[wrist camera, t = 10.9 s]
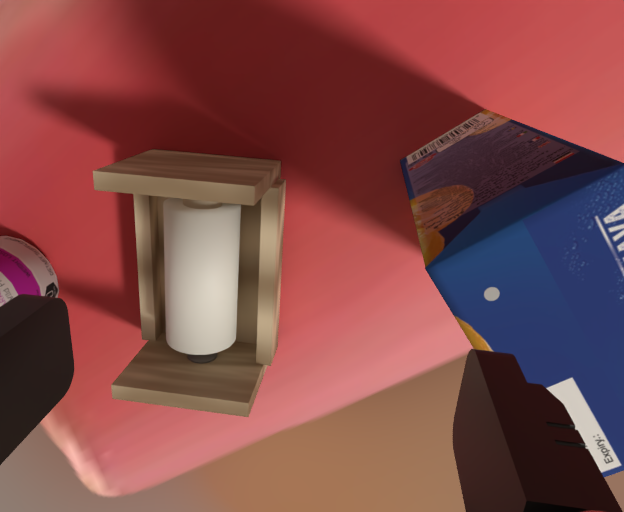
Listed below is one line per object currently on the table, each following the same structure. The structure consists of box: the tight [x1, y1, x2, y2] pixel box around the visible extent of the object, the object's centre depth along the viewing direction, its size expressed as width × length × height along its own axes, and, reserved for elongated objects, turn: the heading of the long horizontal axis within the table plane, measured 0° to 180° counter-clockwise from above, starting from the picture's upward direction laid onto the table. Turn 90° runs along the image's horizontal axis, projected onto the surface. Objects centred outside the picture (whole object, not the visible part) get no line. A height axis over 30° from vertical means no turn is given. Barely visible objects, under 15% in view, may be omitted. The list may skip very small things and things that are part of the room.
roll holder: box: [93, 149, 286, 417], centre depth 38 cm, size 17×11×9 cm
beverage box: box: [400, 109, 624, 477], centre depth 28 cm, size 7×11×22 cm, turn 33°
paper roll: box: [163, 198, 241, 355], centre depth 39 cm, size 12×6×6 cm, turn 175°
